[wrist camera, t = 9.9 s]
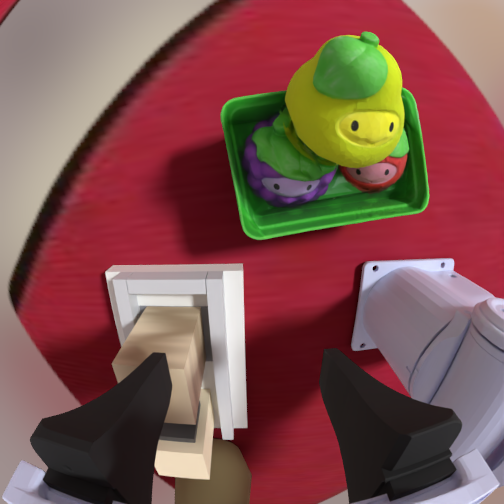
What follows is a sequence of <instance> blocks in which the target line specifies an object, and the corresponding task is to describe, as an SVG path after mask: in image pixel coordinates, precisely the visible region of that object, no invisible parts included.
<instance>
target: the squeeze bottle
mask: <svg viewBox="0 0 504 504" xmlns="http://www.w3.org/2000/svg"><path fill="white" fill-rule="evenodd" d="M251 477H252V475H251V473H250V471H249V468H248V466H247V464H246V462H245V460H244V458H243V456H242V453H241V451H240V450H239V448H238V447H237V446H236V445H234V444H233V443H231V442H228V441H225V440H222V439H213V442H212V455H211V468H210V480H208V479H192V478H181V477H175V504H249V499H250V488H251Z"/></svg>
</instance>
